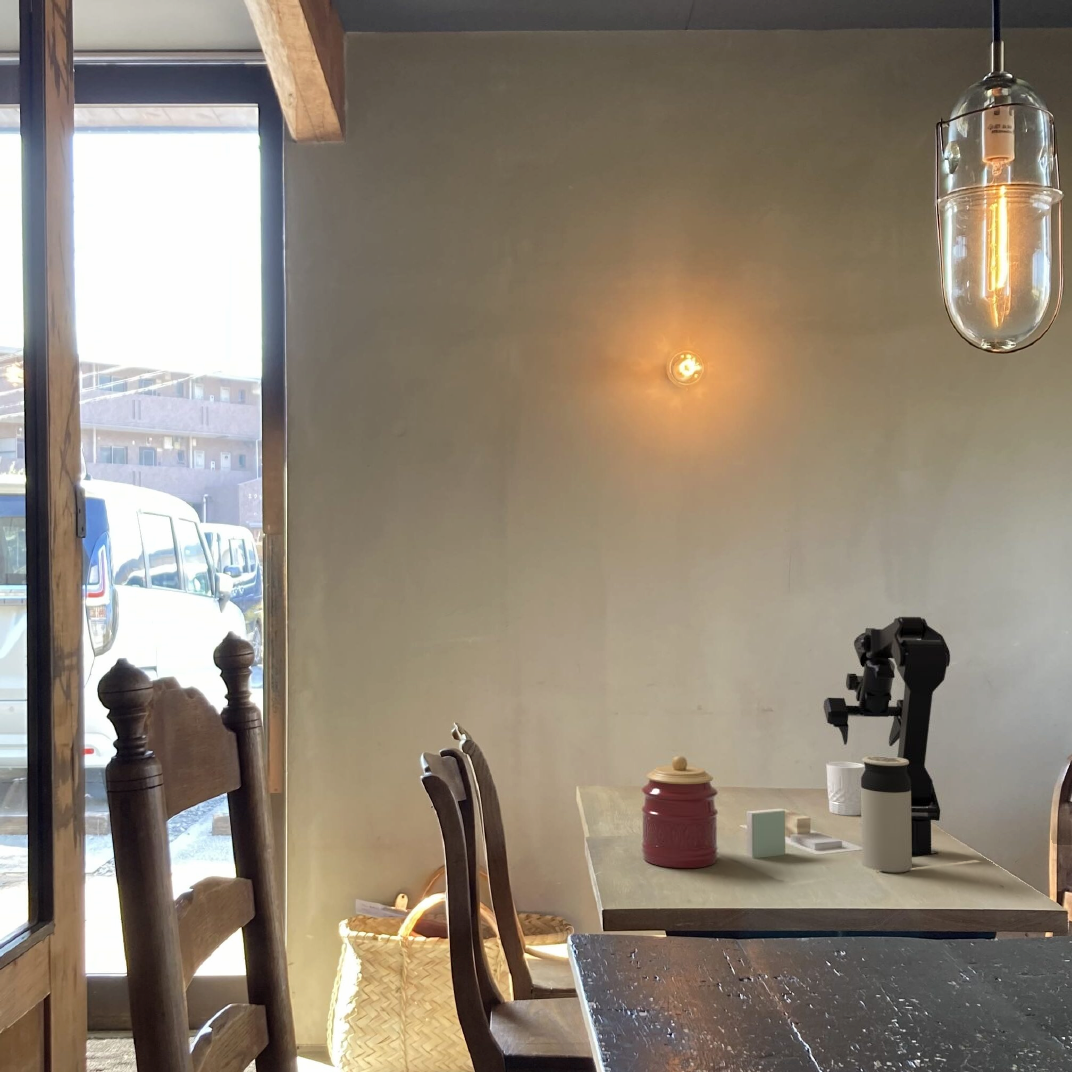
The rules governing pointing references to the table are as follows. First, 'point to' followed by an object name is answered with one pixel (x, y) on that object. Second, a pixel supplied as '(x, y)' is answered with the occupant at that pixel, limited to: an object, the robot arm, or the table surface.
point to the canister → (679, 817)
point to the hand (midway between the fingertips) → (867, 744)
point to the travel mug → (886, 814)
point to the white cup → (844, 787)
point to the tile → (765, 833)
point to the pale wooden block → (807, 833)
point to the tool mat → (844, 848)
